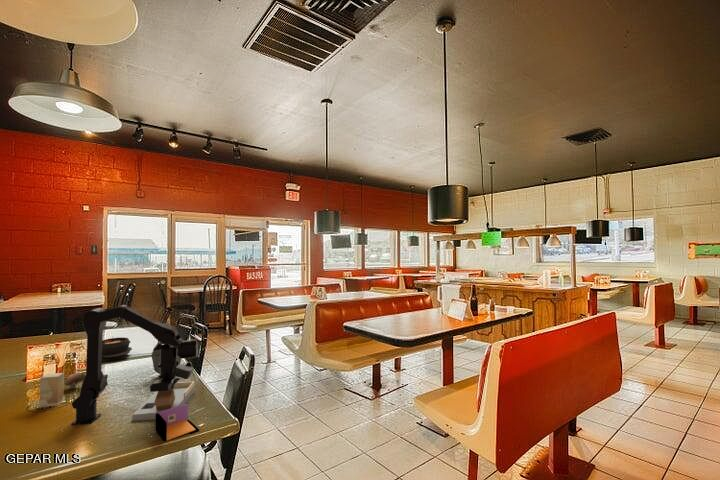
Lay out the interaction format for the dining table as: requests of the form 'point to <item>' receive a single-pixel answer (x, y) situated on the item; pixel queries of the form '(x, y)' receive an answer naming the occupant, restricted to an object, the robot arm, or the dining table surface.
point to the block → (165, 399)
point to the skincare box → (51, 389)
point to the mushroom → (74, 380)
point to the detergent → (156, 356)
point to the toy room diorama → (174, 423)
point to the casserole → (115, 347)
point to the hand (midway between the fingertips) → (168, 400)
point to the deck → (181, 396)
